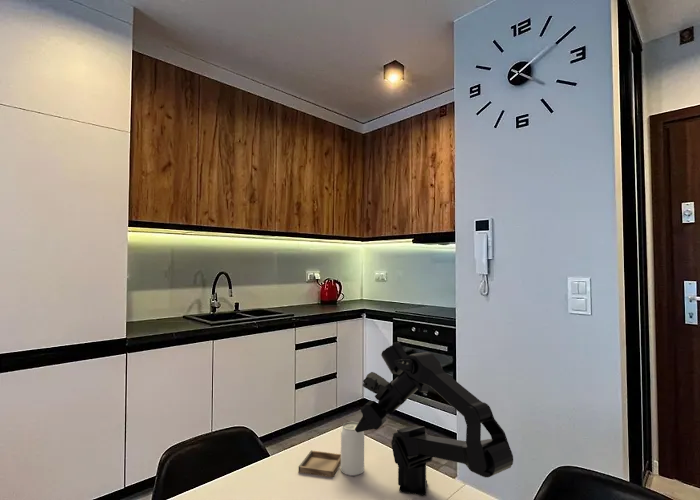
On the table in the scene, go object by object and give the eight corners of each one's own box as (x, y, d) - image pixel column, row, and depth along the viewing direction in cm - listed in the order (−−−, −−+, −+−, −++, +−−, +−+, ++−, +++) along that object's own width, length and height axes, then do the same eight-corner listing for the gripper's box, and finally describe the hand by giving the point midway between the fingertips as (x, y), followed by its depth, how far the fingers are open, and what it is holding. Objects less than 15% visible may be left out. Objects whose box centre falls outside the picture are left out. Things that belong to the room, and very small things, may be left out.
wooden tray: (342, 459, 110) (342, 454, 111) (332, 477, 101) (332, 471, 101) (311, 455, 113) (311, 450, 113) (298, 472, 103) (298, 466, 104)
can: (362, 477, 101) (362, 431, 102) (338, 475, 102) (338, 429, 103) (365, 465, 107) (366, 422, 108) (343, 463, 109) (343, 420, 109)
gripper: (392, 357, 111) (357, 390, 115) (368, 372, 94) (328, 411, 98) (418, 388, 107) (382, 421, 111) (398, 409, 91) (356, 448, 95)
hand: (362, 424), depth 104 cm, fingers open, 9 cm apart
